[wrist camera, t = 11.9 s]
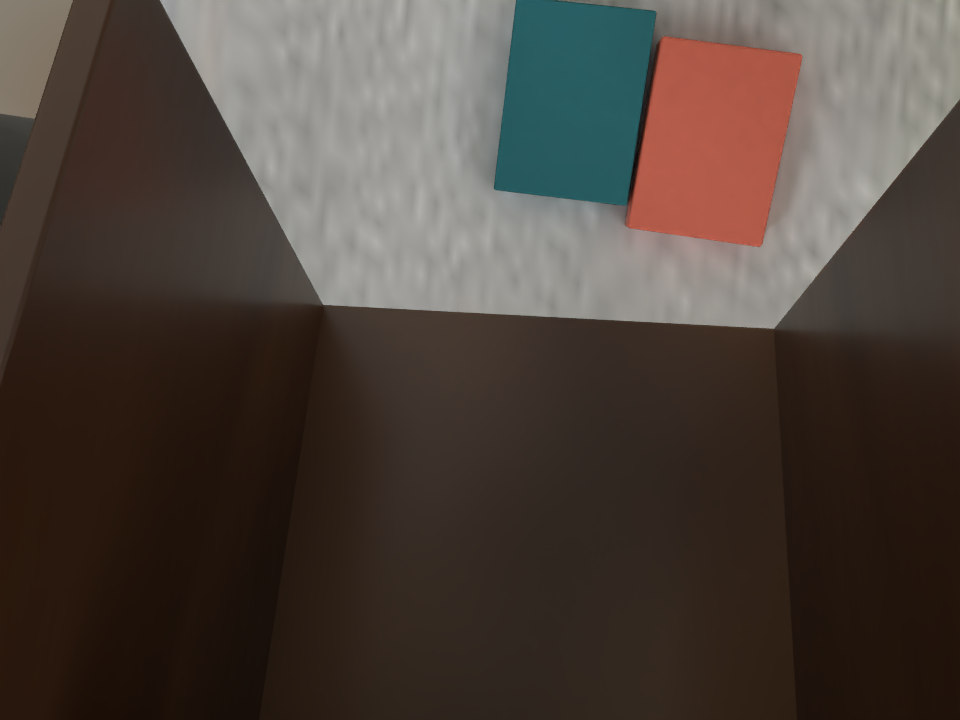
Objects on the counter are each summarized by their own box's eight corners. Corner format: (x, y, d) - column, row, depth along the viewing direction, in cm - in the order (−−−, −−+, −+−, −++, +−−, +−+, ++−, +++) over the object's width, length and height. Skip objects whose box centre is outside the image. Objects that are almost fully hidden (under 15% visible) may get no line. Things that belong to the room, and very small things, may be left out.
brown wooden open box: (229, 822, 16) (-296, 1133, 6) (310, 315, 20) (88, -60, 9) (819, 876, 15) (1478, 1348, 5) (784, 341, 19) (1112, -33, 9)
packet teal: (516, -5, 25) (518, 4, 26) (493, 189, 26) (495, 189, 27) (656, 10, 25) (652, 19, 26) (626, 205, 26) (623, 205, 27)
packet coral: (661, 35, 25) (656, 42, 26) (627, 227, 26) (624, 226, 27) (804, 54, 25) (792, 60, 26) (762, 247, 26) (753, 245, 27)
